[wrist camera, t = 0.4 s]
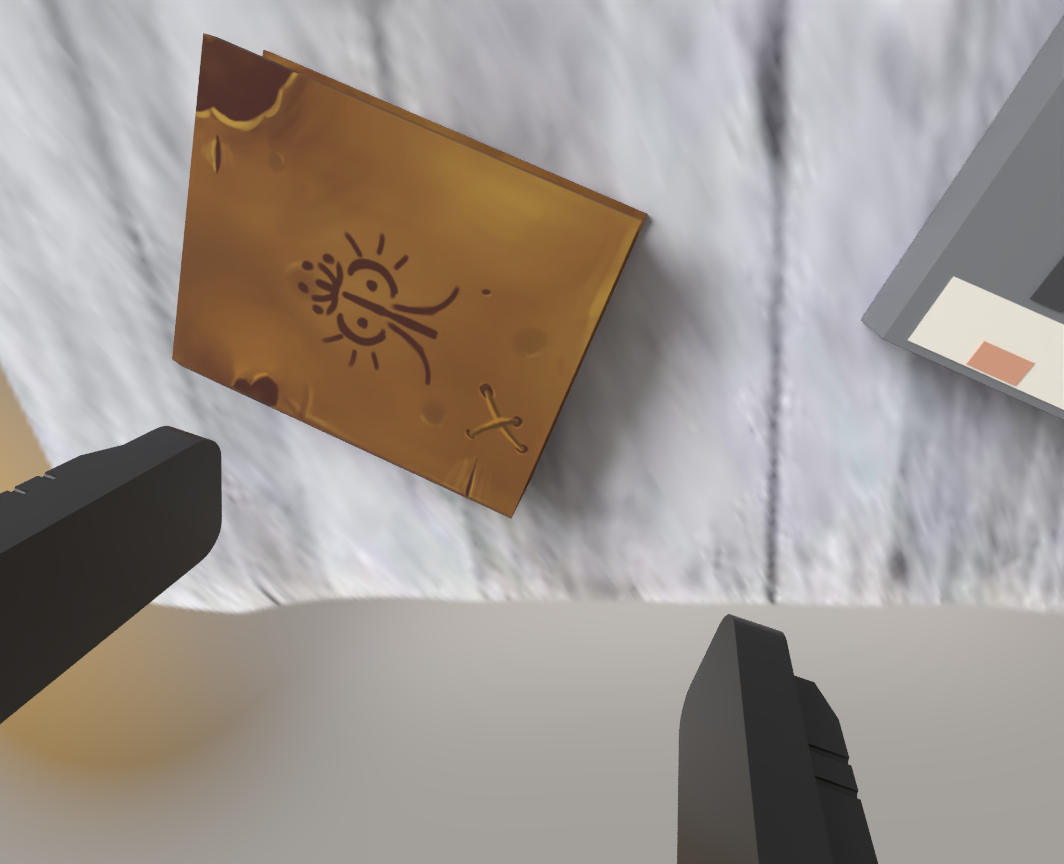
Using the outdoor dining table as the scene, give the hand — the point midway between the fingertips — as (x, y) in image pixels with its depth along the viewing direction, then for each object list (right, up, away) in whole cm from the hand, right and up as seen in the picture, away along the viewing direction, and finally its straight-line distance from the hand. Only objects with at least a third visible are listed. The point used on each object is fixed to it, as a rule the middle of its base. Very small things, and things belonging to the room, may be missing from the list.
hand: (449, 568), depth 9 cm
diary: (-6, +11, +29) cm, 31 cm away
